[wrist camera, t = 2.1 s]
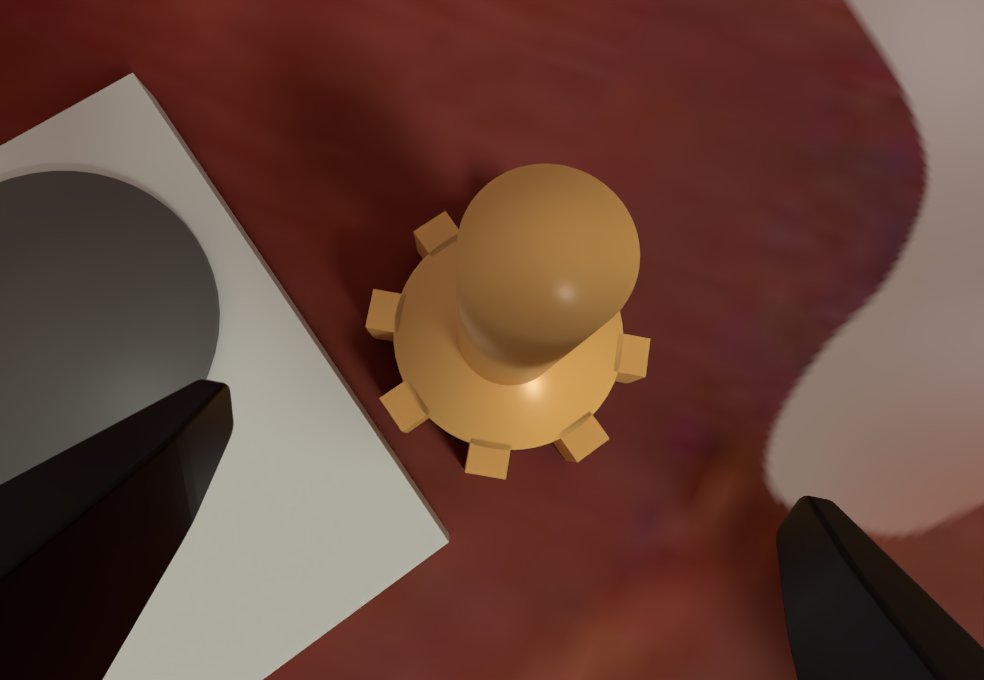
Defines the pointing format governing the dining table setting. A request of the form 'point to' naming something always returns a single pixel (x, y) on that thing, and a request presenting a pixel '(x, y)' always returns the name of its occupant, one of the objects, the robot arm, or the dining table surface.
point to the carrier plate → (177, 363)
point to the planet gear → (516, 317)
